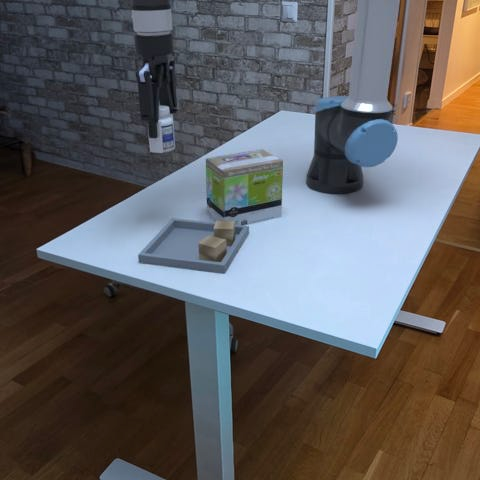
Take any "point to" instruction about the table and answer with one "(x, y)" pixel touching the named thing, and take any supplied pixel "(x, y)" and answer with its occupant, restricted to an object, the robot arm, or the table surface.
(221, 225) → the oak cube
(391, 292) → the table surface
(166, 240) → the tray
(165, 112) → the pill bottle
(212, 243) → the oak cube
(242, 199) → the tea box
